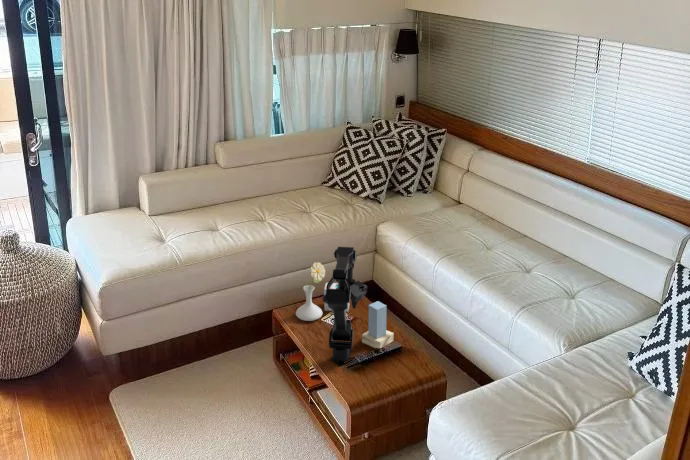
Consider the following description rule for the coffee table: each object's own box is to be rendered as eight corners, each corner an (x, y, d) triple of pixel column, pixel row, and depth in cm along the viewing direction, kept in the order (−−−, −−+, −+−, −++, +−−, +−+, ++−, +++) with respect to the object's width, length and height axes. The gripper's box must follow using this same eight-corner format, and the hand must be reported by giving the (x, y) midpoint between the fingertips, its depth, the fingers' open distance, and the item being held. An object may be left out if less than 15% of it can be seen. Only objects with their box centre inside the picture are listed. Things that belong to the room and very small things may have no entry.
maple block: (380, 351, 266) (380, 342, 264) (361, 343, 271) (362, 334, 270) (393, 341, 272) (393, 333, 271) (375, 333, 278) (375, 325, 276)
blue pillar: (376, 338, 267) (377, 309, 262) (368, 333, 270) (368, 304, 265) (386, 334, 269) (386, 305, 264) (377, 329, 273) (378, 301, 268)
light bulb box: (349, 304, 299) (350, 282, 295) (348, 312, 293) (348, 290, 288) (325, 303, 300) (325, 281, 295) (323, 311, 294) (323, 289, 289)
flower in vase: (302, 325, 282) (301, 272, 272) (291, 313, 291) (290, 261, 282) (330, 318, 288) (330, 265, 278) (319, 306, 297) (318, 255, 287)
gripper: (341, 292, 249) (341, 328, 256) (377, 276, 261) (376, 312, 267) (321, 281, 257) (322, 317, 263) (357, 267, 268) (357, 301, 275)
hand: (345, 312), depth 267 cm, fingers open, 9 cm apart
